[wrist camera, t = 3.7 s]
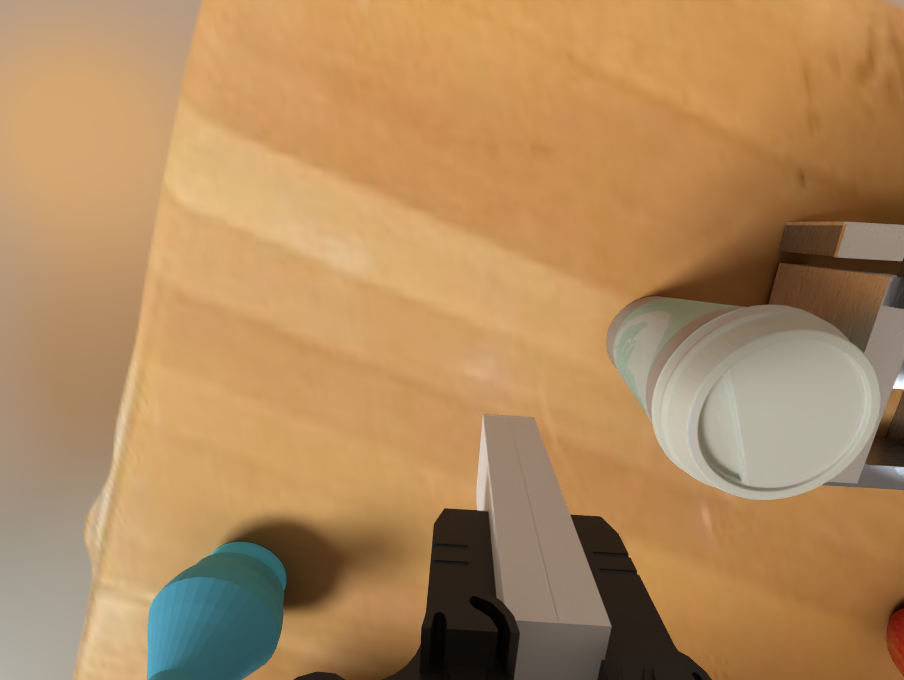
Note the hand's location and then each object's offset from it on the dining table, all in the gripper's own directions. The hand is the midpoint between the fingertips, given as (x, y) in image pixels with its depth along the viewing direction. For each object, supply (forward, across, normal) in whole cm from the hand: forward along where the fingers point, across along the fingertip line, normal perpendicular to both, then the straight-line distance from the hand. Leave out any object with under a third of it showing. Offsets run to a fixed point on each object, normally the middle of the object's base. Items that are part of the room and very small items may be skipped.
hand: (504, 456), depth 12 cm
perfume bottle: (+16, -18, -22) cm, 33 cm away
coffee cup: (+16, +11, 0) cm, 20 cm away
